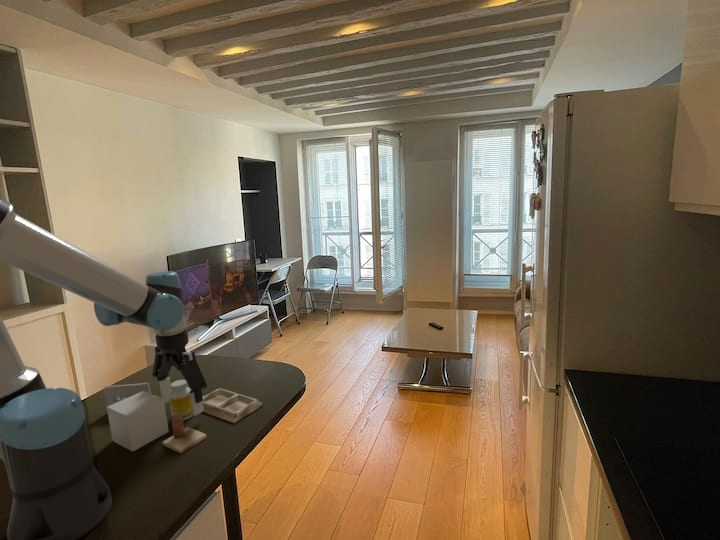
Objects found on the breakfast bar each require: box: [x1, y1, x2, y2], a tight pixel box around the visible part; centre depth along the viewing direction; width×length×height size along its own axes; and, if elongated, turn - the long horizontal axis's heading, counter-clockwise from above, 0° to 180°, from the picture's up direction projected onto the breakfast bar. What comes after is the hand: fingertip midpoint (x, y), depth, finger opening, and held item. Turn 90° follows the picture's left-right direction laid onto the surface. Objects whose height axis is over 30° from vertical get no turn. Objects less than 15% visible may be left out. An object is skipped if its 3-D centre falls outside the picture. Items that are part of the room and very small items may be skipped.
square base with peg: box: [161, 414, 208, 454], centre depth 95 cm, size 7×7×6 cm
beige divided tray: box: [202, 387, 264, 424], centre depth 110 cm, size 10×17×2 cm, turn 58°
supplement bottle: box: [169, 379, 194, 421], centre depth 106 cm, size 5×5×10 cm
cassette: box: [103, 382, 152, 408], centre depth 111 cm, size 12×2×8 cm, turn 95°
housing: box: [106, 391, 170, 452], centre depth 98 cm, size 9×9×9 cm
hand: (182, 407), depth 106 cm, fingers open, 13 cm apart
